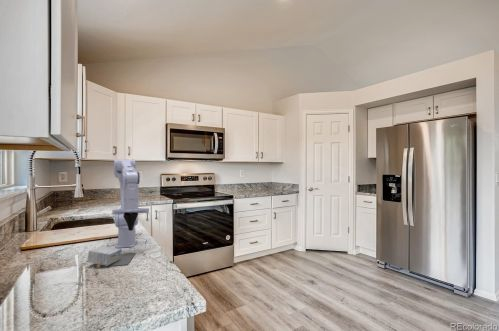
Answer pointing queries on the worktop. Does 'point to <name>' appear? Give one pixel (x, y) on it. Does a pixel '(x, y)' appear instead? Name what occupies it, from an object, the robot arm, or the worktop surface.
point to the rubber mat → (122, 260)
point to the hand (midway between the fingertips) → (130, 230)
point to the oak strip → (99, 266)
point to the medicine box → (104, 255)
